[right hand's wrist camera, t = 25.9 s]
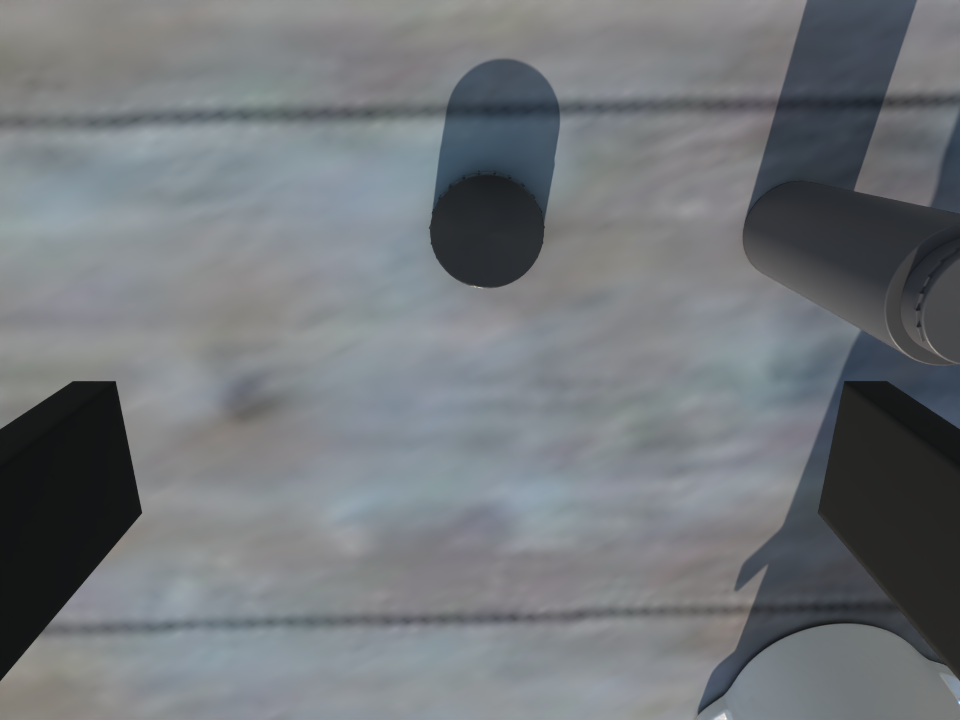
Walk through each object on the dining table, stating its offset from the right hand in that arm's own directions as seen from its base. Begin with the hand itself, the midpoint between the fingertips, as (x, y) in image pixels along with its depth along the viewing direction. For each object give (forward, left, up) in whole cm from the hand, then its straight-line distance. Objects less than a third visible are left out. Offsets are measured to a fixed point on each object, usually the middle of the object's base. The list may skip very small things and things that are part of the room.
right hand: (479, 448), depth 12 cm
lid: (0, 0, -25) cm, 25 cm away
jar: (+9, +15, -26) cm, 31 cm away
